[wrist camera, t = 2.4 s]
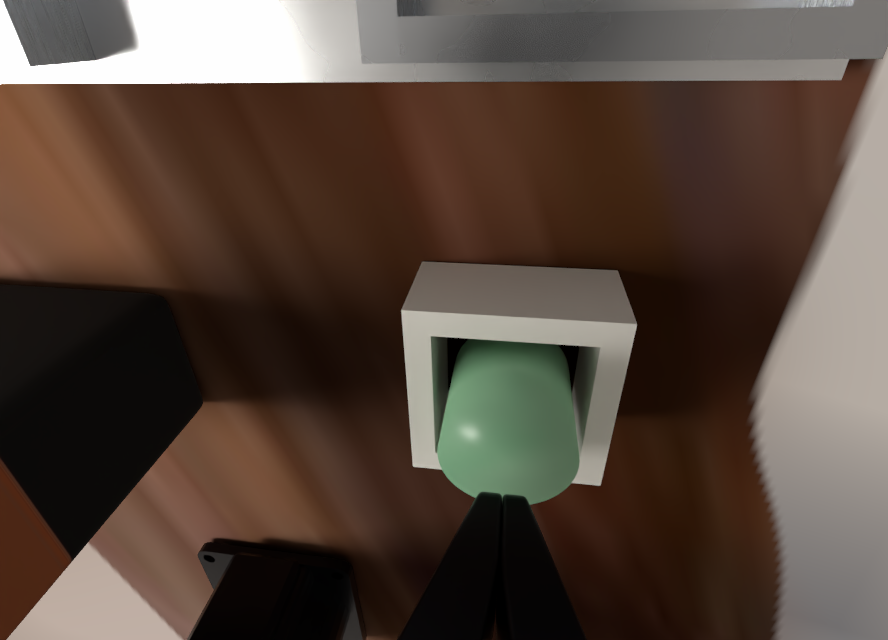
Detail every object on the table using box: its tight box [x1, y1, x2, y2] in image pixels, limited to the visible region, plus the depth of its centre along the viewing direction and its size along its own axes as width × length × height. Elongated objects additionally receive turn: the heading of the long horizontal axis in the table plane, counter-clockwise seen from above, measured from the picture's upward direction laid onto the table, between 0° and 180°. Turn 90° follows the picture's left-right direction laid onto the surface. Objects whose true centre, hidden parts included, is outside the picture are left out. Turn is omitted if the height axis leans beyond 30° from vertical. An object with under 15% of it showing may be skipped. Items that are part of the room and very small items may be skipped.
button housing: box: [401, 262, 637, 486], centre depth 12 cm, size 5×5×2 cm
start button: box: [437, 339, 580, 505], centre depth 11 cm, size 3×3×3 cm
